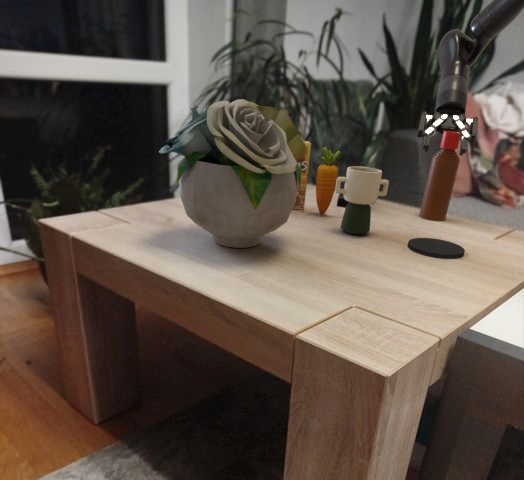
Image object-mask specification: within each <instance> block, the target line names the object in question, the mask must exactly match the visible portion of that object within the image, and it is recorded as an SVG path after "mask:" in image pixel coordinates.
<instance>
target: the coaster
mask: <svg viewBox="0 0 524 480" xmlns="http://www.w3.org/2000/svg"><path fill="white" fill-rule="evenodd" d="M407 248H408V249H409V250H411V251H413V252H414V253H416V254H420V255H423V256H426V257H431V258H436V259H459V258H462V257H463V256H465V252H466V250H465V248H464V247H463V246H461V245H459V244H457V243H455V242H451V241H450V240H449V241H448V240H444V239H440V238H432V237H415V238H414V237H413V238H410V239H408V241H407Z"/></svg>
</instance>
